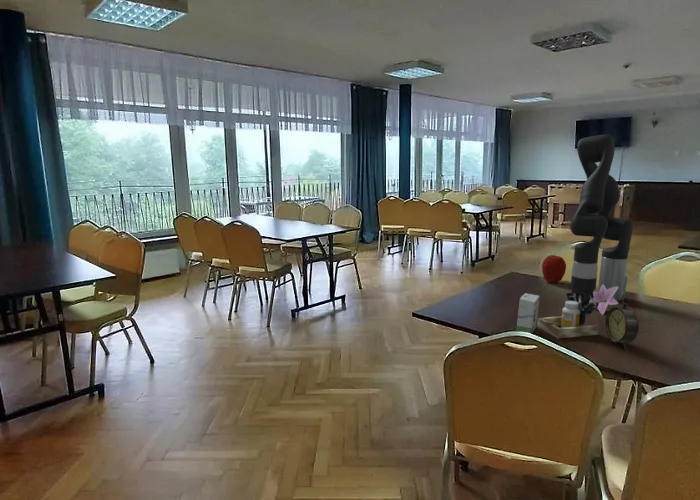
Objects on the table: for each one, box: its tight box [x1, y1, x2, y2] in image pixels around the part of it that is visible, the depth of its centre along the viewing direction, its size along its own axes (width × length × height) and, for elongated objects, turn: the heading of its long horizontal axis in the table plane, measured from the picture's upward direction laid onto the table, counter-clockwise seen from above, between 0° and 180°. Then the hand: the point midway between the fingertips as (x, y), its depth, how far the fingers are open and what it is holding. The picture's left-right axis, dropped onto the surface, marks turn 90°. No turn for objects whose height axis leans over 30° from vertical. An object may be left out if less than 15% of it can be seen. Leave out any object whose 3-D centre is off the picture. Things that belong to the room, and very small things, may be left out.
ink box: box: [515, 292, 540, 334], centre depth 155 cm, size 9×5×12 cm, turn 148°
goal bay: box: [536, 315, 600, 339], centre depth 156 cm, size 15×11×3 cm
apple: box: [541, 254, 567, 284], centre depth 214 cm, size 10×10×14 cm
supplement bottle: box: [560, 300, 580, 328], centre depth 155 cm, size 5×5×10 cm
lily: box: [593, 285, 619, 315], centre depth 176 cm, size 12×12×10 cm
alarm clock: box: [604, 293, 640, 351], centre depth 143 cm, size 11×5×16 cm, turn 0°
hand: (579, 324), depth 157 cm, fingers closed
